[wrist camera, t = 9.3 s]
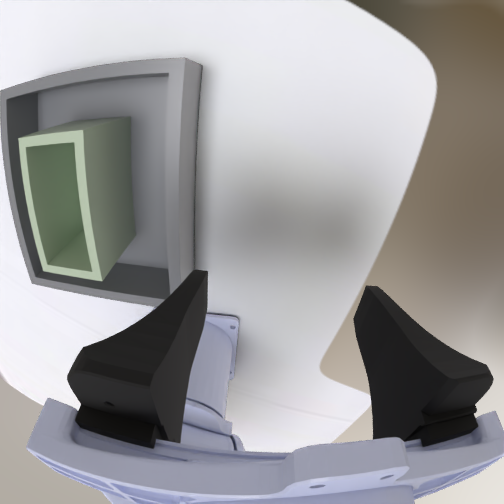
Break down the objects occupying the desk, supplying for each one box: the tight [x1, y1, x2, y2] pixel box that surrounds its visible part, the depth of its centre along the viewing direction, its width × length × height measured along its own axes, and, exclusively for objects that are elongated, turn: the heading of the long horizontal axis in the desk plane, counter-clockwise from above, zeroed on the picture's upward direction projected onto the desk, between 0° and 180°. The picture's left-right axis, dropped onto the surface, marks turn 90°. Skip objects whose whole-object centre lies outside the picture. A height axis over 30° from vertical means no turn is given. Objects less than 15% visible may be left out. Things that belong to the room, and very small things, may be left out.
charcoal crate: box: [0, 58, 202, 307], centre depth 18 cm, size 16×14×4 cm
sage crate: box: [18, 117, 136, 281], centre depth 17 cm, size 9×5×6 cm, turn 175°
